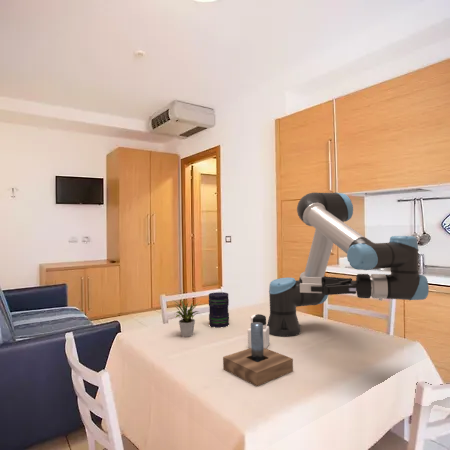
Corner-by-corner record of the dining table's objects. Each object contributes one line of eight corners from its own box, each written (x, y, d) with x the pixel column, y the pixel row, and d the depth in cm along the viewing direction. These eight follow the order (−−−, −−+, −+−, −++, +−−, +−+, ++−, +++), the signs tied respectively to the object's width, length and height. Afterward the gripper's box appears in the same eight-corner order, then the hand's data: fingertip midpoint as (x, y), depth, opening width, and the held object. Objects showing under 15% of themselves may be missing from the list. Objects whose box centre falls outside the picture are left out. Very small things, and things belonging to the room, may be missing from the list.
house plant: (161, 338, 142) (160, 300, 142) (178, 329, 155) (177, 294, 155) (191, 341, 136) (190, 302, 137) (205, 331, 149) (204, 295, 150)
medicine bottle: (269, 343, 132) (268, 313, 132) (266, 349, 125) (265, 318, 125) (252, 342, 134) (251, 312, 134) (247, 348, 127) (247, 317, 128)
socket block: (223, 369, 108) (223, 356, 109) (258, 356, 118) (258, 345, 118) (256, 386, 96) (256, 372, 96) (293, 371, 106) (292, 358, 106)
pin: (249, 369, 107) (248, 323, 108) (258, 366, 110) (256, 321, 110) (257, 373, 104) (256, 326, 105) (266, 370, 107) (265, 323, 107)
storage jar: (217, 321, 167) (216, 291, 167) (233, 323, 161) (232, 293, 161) (204, 325, 159) (204, 294, 159) (221, 329, 153) (220, 296, 153)
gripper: (377, 307, 91) (299, 304, 97) (365, 290, 115) (303, 288, 121) (376, 280, 91) (298, 278, 97) (365, 269, 115) (302, 268, 121)
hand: (300, 284), depth 109 cm, fingers open, 13 cm apart
